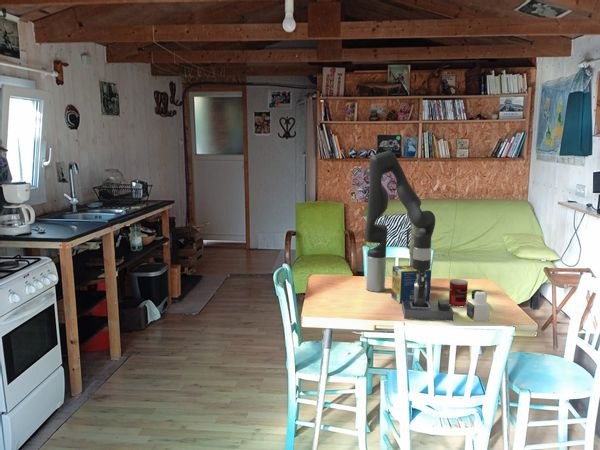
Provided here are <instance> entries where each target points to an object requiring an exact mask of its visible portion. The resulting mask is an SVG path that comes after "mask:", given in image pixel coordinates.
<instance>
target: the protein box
mask: <svg viewBox="0 0 600 450" xmlns="http://www.w3.org/2000/svg"><path fill="white" fill-rule="evenodd" d="M391 273H392V274H391V275H392V276H391V298H392V299H394V301H396V302H397V303H398V304H400V305H402V300H414V283H415V281H416V269H414V268H413V267H412V265H410V264H409V265H393V266H392V272H391ZM425 273H426V283H427V287H426V301H431V283H432V270H431V268H430V269H429V270H425Z"/></svg>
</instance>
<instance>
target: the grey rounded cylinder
mask: <svg viewBox="0 0 600 450" xmlns="http://www.w3.org/2000/svg"><path fill="white" fill-rule="evenodd" d="M420 287H423V285H420ZM426 287H427V283H426V284H425V290H424V297H423V299H422V298H418V284H417V281H415V283H414V305H415V306H418V307H424V306H425V305H426Z"/></svg>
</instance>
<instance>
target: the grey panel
mask: <svg viewBox="0 0 600 450" xmlns="http://www.w3.org/2000/svg"><path fill="white" fill-rule="evenodd" d="M401 311H402V314H403V319H405V320H423V321H424V320H425V321H426V320H427V321H428V320H429V321H445V322H446V321H449V322H454V310H453V308H452V305H450V303H449V299H438V300H437V301H436V300H430V301H426V305H425V306H424V307H418V306H415V305H414V300H402V304H401Z"/></svg>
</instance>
